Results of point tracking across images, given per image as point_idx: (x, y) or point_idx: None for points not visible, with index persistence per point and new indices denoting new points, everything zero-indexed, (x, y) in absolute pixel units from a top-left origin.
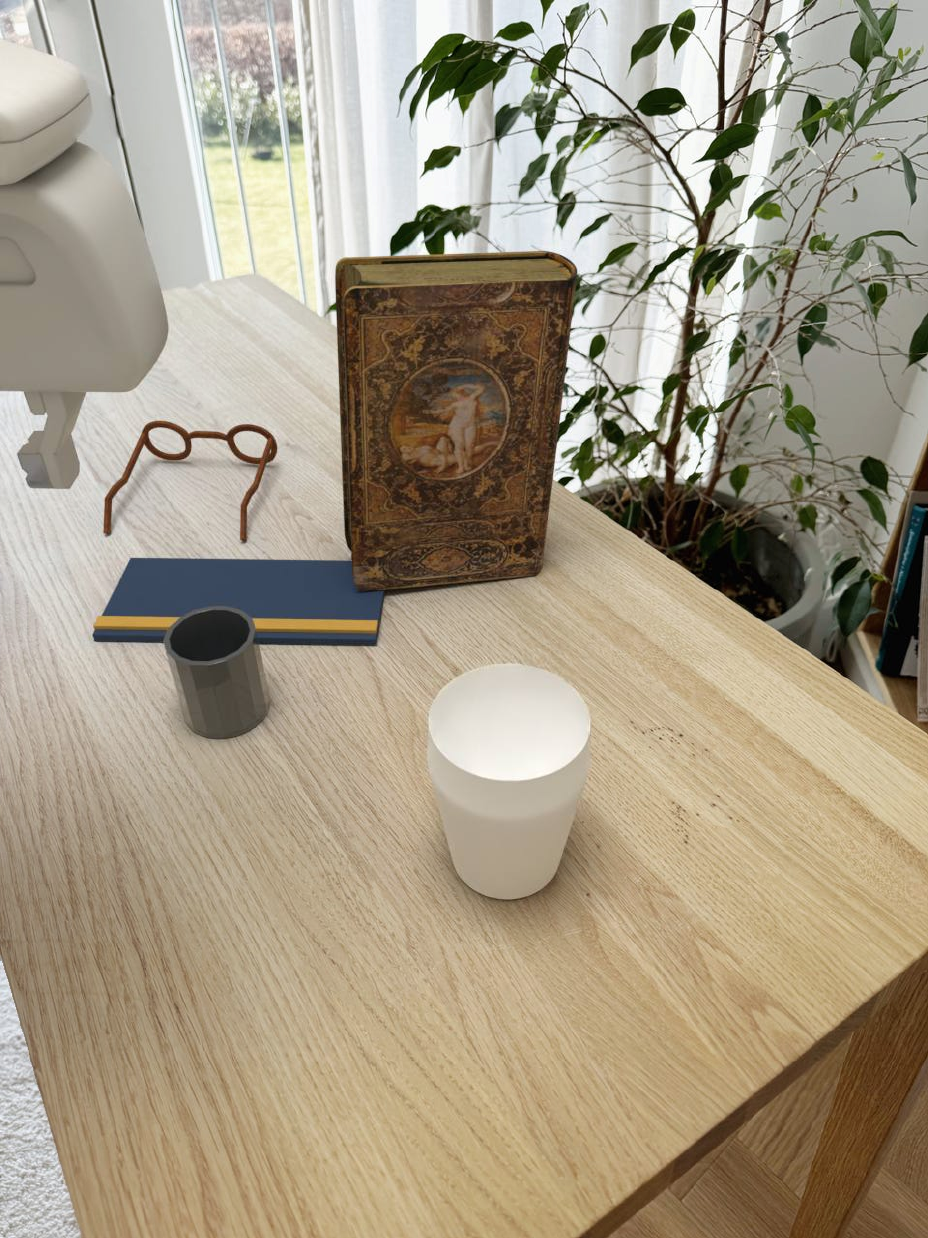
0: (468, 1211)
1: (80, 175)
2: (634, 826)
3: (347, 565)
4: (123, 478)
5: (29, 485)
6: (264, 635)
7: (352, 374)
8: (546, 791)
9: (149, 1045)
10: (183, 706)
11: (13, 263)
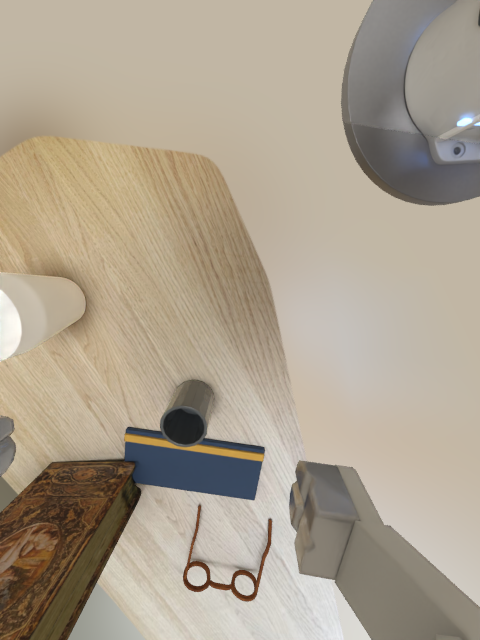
0: (74, 145)
1: None
2: None
3: (143, 480)
4: (263, 557)
5: (1, 418)
6: None
7: (35, 622)
8: None
9: (204, 228)
10: (208, 395)
11: None
